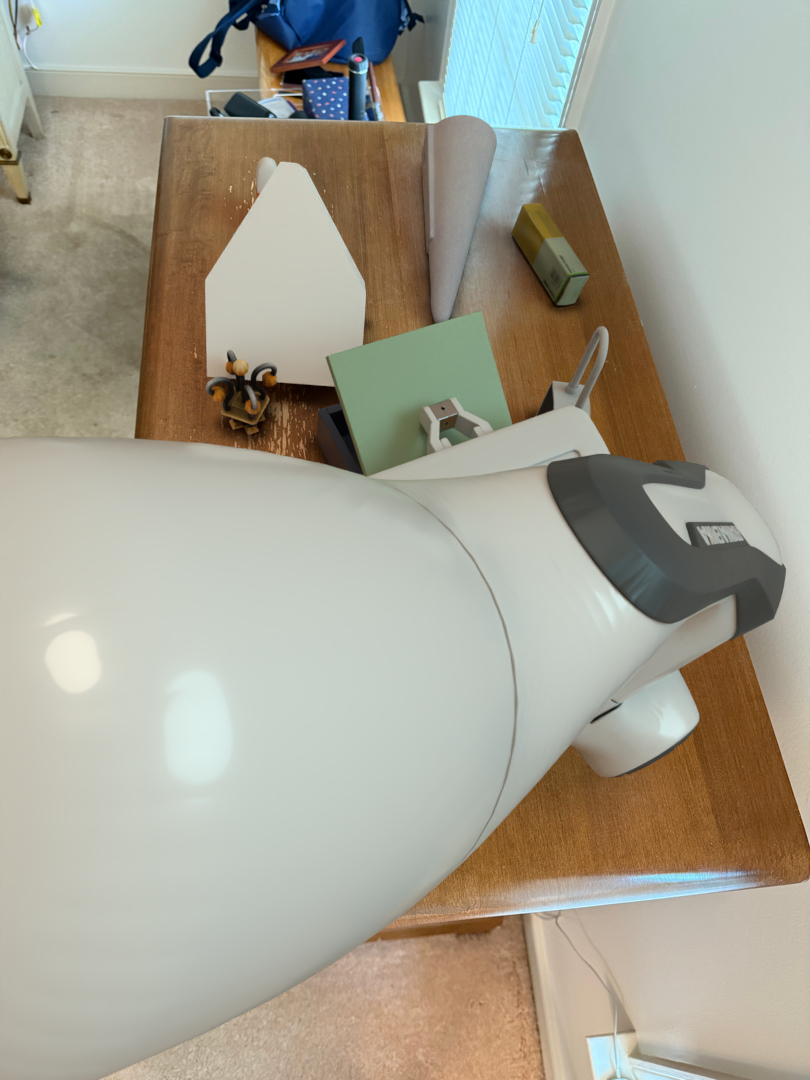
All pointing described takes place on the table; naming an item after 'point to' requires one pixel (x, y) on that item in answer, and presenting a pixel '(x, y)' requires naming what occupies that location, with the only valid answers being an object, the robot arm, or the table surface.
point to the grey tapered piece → (453, 199)
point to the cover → (416, 388)
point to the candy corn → (264, 173)
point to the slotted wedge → (284, 287)
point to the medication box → (549, 254)
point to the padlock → (578, 379)
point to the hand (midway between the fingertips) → (436, 407)
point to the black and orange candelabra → (243, 393)
